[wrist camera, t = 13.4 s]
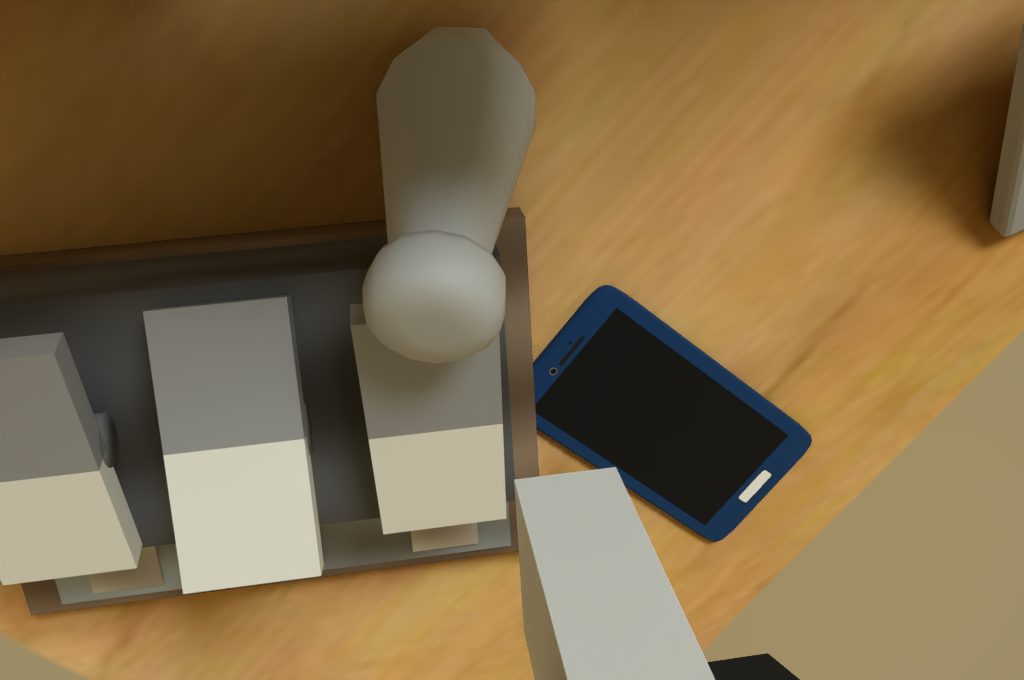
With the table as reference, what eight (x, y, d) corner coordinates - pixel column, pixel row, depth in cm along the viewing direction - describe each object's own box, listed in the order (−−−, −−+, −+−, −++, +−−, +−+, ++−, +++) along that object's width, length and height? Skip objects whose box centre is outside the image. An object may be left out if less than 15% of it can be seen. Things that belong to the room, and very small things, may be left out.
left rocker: (-79, 323, 31) (-109, 371, 29) (72, 308, 32) (54, 354, 29) (22, 533, 37) (3, 585, 35) (148, 517, 37) (137, 568, 35)
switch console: (-63, 262, 37) (-129, 310, 32) (519, 207, 39) (540, 244, 34) (42, 593, 43) (0, 676, 38) (537, 529, 46) (557, 599, 41)
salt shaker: (410, 142, 39) (367, 399, 30) (364, 18, 34) (298, 277, 26) (551, 120, 37) (546, 381, 29) (521, -11, 33) (505, 250, 25)
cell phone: (713, 539, 48) (718, 548, 47) (499, 399, 43) (501, 406, 42) (813, 433, 46) (820, 440, 45) (602, 274, 41) (606, 280, 41)
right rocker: (349, 281, 32) (350, 325, 30) (488, 267, 33) (498, 310, 31) (380, 485, 38) (383, 534, 36) (497, 471, 39) (506, 518, 37)
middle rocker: (162, 306, 34) (142, 311, 32) (295, 292, 35) (286, 296, 32) (198, 568, 36) (183, 594, 33) (326, 551, 36) (321, 575, 34)
